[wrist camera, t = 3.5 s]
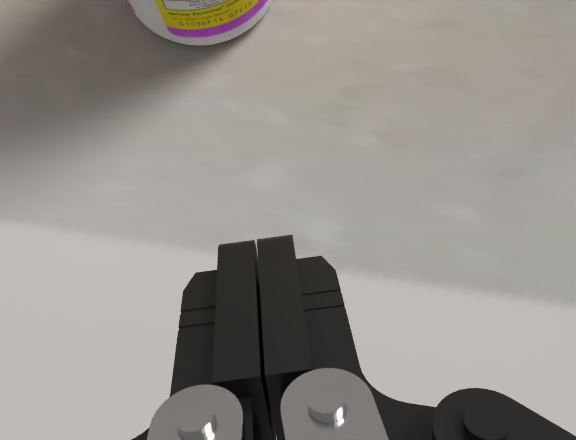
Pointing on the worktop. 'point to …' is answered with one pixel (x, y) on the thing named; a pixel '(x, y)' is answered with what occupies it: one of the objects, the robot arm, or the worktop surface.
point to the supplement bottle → (199, 18)
